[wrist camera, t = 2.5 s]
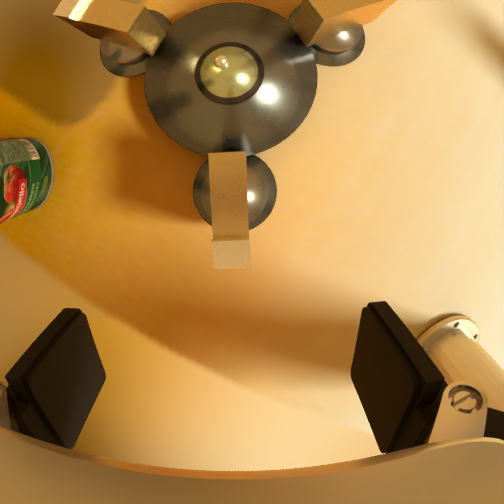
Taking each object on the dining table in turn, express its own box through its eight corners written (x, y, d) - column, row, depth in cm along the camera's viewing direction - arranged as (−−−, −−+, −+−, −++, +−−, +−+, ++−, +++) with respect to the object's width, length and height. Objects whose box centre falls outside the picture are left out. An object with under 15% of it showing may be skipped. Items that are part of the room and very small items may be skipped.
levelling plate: (367, 228, 27) (381, 238, 24) (110, 237, 27) (95, 248, 24) (359, 6, 20) (372, -8, 17) (103, 20, 20) (88, 8, 17)
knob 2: (342, -2, 19) (373, -45, 12) (373, 40, 21) (417, 9, 13) (279, 22, 21) (292, -24, 13) (312, 67, 22) (340, 35, 14)
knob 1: (91, 55, 21) (42, 32, 13) (118, 10, 19) (80, -26, 11) (150, 75, 22) (111, 49, 14) (179, 27, 20) (154, -15, 13)
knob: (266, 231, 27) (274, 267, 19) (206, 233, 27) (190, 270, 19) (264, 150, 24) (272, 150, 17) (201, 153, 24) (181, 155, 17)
